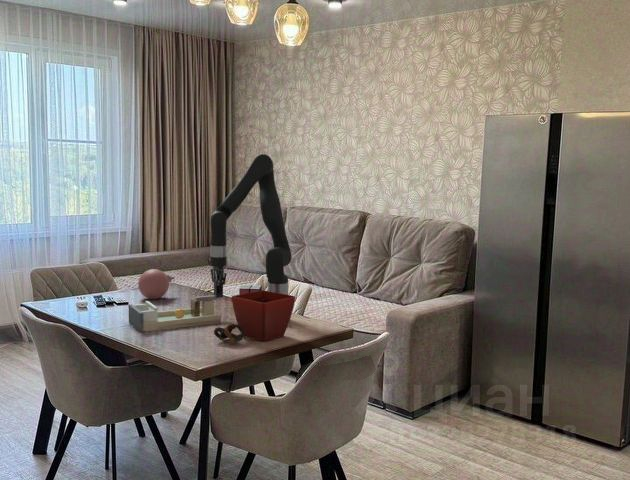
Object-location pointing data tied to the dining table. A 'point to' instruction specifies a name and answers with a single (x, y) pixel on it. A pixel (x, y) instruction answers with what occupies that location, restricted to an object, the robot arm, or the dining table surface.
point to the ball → (179, 313)
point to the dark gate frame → (196, 302)
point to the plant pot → (263, 314)
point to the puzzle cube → (249, 289)
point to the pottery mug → (229, 333)
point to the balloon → (154, 283)
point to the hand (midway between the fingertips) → (218, 292)
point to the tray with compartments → (169, 317)
